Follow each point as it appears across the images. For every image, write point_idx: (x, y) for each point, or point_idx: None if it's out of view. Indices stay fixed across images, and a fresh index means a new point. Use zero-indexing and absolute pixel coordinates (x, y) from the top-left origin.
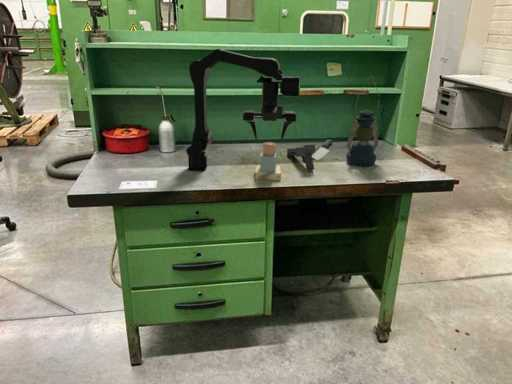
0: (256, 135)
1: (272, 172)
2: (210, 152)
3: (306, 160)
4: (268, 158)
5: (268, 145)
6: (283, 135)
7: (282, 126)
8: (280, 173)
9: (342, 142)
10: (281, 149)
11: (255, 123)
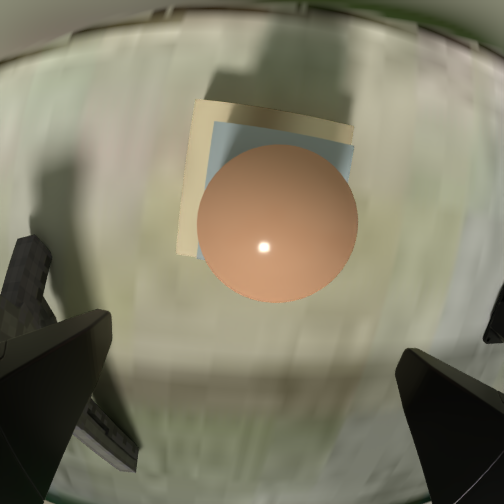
0: (434, 366)
1: (246, 122)
2: (412, 461)
3: (30, 289)
4: (283, 131)
5: (303, 153)
6: (56, 323)
7: (50, 479)
8: (197, 100)
9: None
10: (161, 489)
11: (502, 490)
